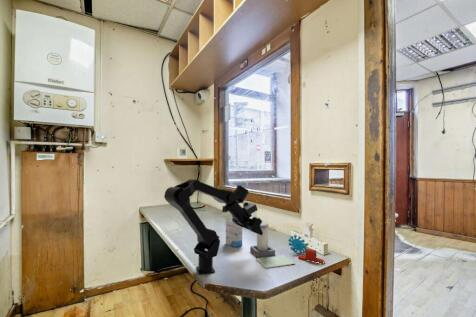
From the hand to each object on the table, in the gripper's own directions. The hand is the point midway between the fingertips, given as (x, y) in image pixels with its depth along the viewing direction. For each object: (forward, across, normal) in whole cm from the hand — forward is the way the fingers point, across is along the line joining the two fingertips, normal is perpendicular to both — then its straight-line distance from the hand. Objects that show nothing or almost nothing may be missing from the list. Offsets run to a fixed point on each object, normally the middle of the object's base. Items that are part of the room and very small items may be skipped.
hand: (256, 231), depth 113 cm
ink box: (+6, +18, +10) cm, 21 cm away
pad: (+9, -11, +6) cm, 16 cm away
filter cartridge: (+10, 0, +5) cm, 11 cm away
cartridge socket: (+10, 0, +5) cm, 11 cm away
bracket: (+21, -17, -5) cm, 27 cm away
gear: (+22, -7, -6) cm, 24 cm away
